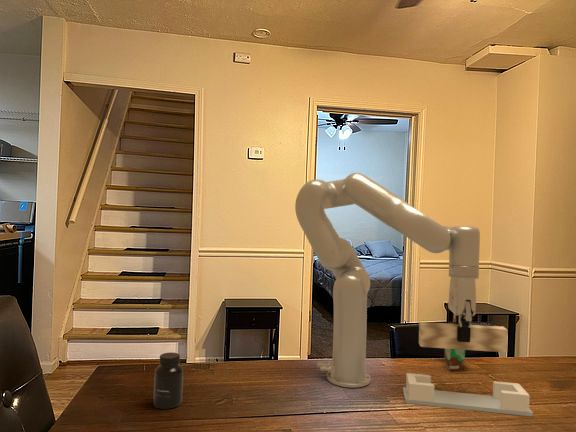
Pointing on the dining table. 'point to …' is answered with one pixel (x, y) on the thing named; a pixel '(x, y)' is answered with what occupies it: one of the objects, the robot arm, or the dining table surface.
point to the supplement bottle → (168, 381)
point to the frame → (468, 397)
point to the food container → (454, 359)
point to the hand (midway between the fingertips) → (461, 339)
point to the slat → (479, 340)
